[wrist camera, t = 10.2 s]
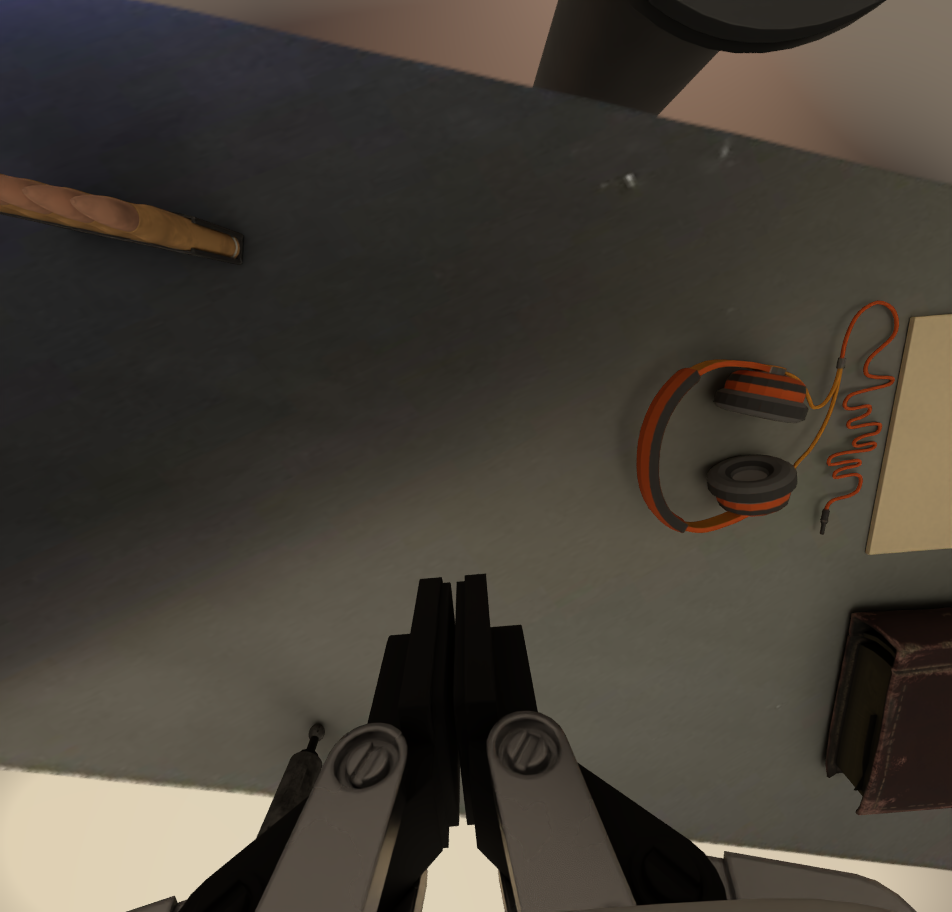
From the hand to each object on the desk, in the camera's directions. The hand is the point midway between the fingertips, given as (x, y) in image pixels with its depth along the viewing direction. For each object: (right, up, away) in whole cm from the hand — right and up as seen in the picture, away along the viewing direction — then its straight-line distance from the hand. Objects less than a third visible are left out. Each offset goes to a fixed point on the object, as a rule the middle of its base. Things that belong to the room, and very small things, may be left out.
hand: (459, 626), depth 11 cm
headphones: (+20, +6, +22) cm, 31 cm away
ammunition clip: (-20, +18, +17) cm, 32 cm away
